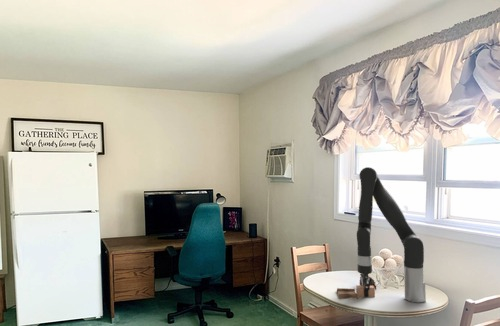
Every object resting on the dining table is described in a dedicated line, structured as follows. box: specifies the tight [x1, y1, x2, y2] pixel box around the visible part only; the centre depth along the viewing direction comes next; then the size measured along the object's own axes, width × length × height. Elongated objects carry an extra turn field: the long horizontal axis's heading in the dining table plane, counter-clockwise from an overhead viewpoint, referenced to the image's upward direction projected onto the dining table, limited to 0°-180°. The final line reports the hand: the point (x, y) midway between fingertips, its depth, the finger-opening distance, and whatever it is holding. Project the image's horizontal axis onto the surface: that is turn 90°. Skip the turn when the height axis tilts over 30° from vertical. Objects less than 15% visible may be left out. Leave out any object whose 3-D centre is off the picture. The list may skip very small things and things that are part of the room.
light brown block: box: [355, 284, 376, 298], centre depth 193 cm, size 9×4×5 cm, turn 84°
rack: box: [336, 287, 359, 300], centre depth 194 cm, size 10×10×2 cm
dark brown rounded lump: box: [359, 275, 377, 290], centre depth 204 cm, size 12×10×8 cm
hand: (365, 295), depth 193 cm, fingers closed on light brown block, 3 cm apart
